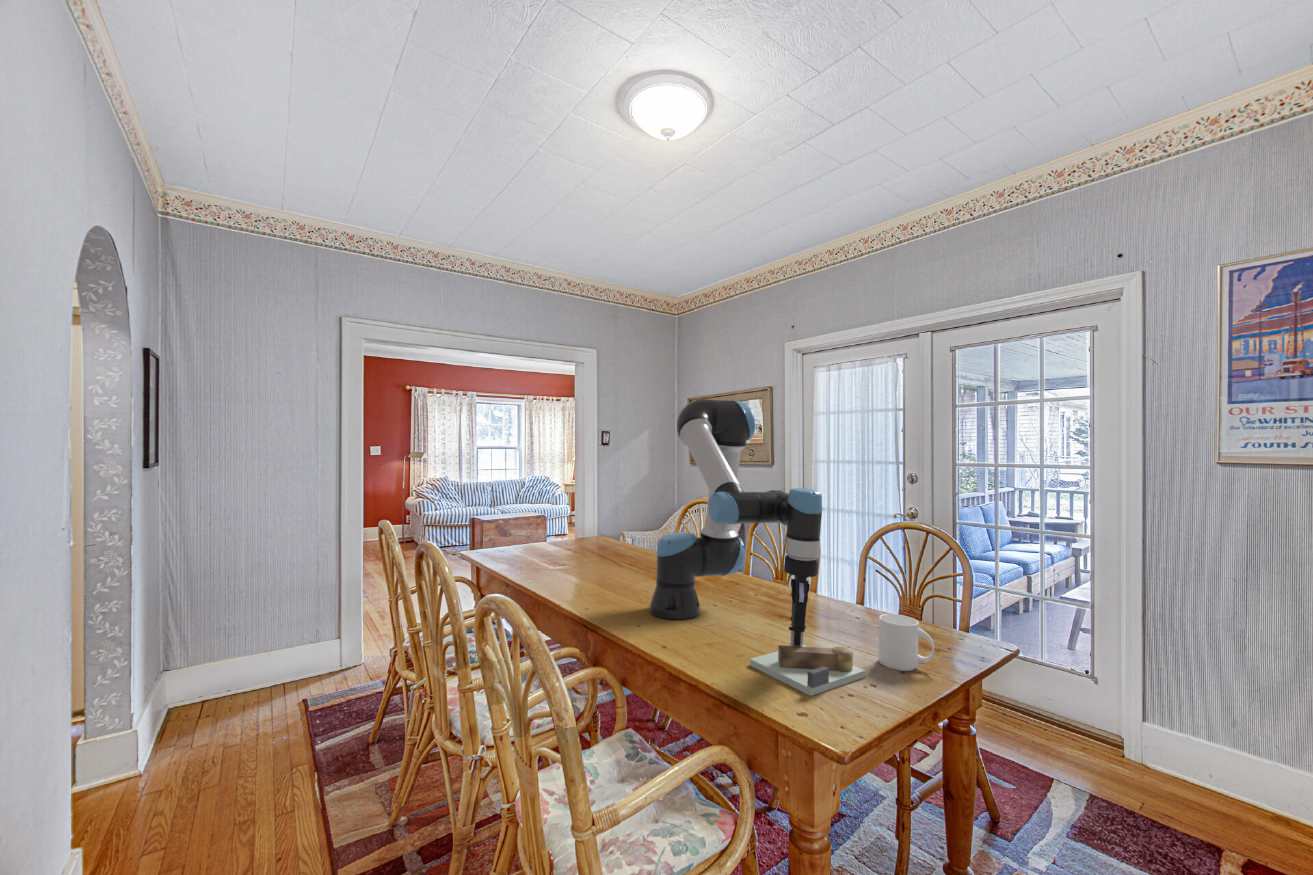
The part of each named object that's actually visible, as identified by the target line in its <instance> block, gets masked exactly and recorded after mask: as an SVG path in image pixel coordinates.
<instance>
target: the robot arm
mask: <svg viewBox="0 0 1313 875" xmlns="http://www.w3.org/2000/svg"><path fill="white" fill-rule="evenodd" d="M676 431H677V432H676V433H677V435H678V438H679V439H680V442H681V443H682V444H683V445H684V446H686V447H687V448H688V450H689V452H690V454H691V456H692V458H693V460H694V462H695V464H696V466H697V468H698V471H699V473H700V475H701V476H702V478H703V480H704V483H705V484H706V487H707V489H708V498H707V509H706V510H707V512H706V524H705V525H704V527H702V528H701V530H700V537H697V536H696V534H695V533H692V532H675V533H671V534H670V533H669V534H666V535H663V536H662V537H660V538H659V540H658V542H657V548H656V582H655V583H656V584H655V585H656V586H655V589H654V591H653V594H652V598H651V601H650V604H649V613H650V614H651V615H653V616H654V617H657V618H660V619H665V620H679V621H680V620H689V619H694V618H696V617H698V616H700V613H701V605H700V602H699V598H698V595H697V590H696V586H695V583H696V582H695V581H696V577H711V576H712V577H713V576H714V577H715V576H728V575H729V576H730V575H734V574H737V573H738V571H740V569H742V566H743V564H744V561H745V553H746V550H745V548H744V547H745V544H744V542H743V540H742V538H740V537H739V532H738V531H737V530H736V529H735V525H739V524H742V525H743V524H781V525H784V526H786V535H785V536H786V538H785V539H786V540H783V542H782V544H783V545H785V553H786V555H785V556H784V566H783V570H784V572H785V573H786V574H787V575H791V576H794V578H791V579H790V587H791V590H790V592H791V593H790V597H791V615H790V616H791V617H790V621H791V623H790V625H791V626H788V631H790V642H789V646H800V647H802V646H803V645H804V644H803V643H804V632H805V631H806V630H805V629H807V626H806V614H807V605H808V604H807V603H808V599H809V592H810V586H811V585H810V583H809V580H807V578H814V577H816V576H817V575H818V574H819V561H820V560H819V559H818V558H819V557H820V552H821V551H820V548H821V547H820V545H821V539H820V538H821V526H822V518H823V517H822V515H823V494H822V492H820V491H819V490H816V489H811V488H798V487H797V488H796V487H795V488H791V489H790V490H789V492H785V491H783V490H777V489H769V490H766V491H744V489H743V487H742V486H741V484H740V482H739V472H740V471H739V470H740V469H739V468H740V460H741V453H742V452H741V451H743V449H745V448H746V446H747V441H749V440H751V439H752V438H753V437H754V434H755V432H756V418H755V413H754V411H753V410H752V408H751V406H750V405H749V404H748V403H746V402H743V401H739V400H727V399H726V400H725V399H724V400H723V399H722V400H721V399H707V398H706V399H705V398H700V399H696V400H692V401H690V402H689V403H688V404H686V405H685V406H684V407H683V408H682V409H681V411H680V412H679V415H678V417H677V420H676Z"/></svg>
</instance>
